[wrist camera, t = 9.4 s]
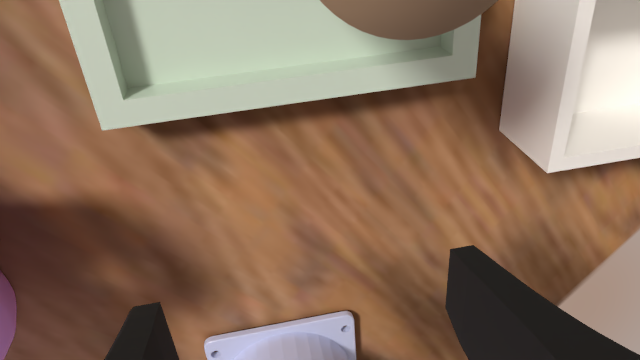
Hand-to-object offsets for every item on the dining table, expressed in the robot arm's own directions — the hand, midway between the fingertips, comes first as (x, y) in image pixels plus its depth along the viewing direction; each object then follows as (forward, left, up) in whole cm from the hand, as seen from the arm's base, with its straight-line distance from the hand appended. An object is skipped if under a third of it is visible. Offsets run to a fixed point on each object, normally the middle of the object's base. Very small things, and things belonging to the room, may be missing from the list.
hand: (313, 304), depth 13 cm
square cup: (+2, -14, -10) cm, 18 cm away
